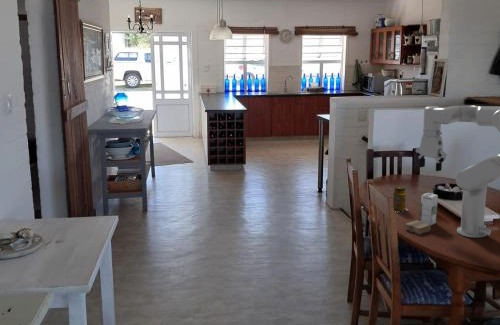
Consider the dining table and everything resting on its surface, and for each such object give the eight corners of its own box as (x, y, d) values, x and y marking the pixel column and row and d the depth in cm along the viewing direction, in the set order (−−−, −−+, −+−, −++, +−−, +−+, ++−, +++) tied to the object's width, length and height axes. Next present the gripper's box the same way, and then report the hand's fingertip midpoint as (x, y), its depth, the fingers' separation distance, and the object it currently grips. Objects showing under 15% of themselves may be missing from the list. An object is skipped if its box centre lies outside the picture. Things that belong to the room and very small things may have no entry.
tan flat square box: (430, 230, 237) (430, 224, 236) (419, 234, 232) (419, 228, 232) (416, 226, 243) (416, 220, 242) (405, 229, 239) (405, 223, 238)
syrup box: (424, 220, 250) (426, 192, 247) (436, 223, 246) (438, 194, 243) (419, 223, 246) (420, 194, 243) (430, 226, 242) (432, 197, 239)
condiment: (408, 209, 267) (409, 187, 264) (397, 213, 262) (398, 190, 260) (397, 206, 273) (398, 184, 270) (386, 209, 268) (387, 187, 265)
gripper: (452, 134, 231) (450, 171, 235) (422, 129, 246) (421, 164, 250) (441, 136, 228) (439, 173, 231) (411, 131, 242) (410, 166, 246)
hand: (430, 168), depth 241 cm, fingers open, 9 cm apart
